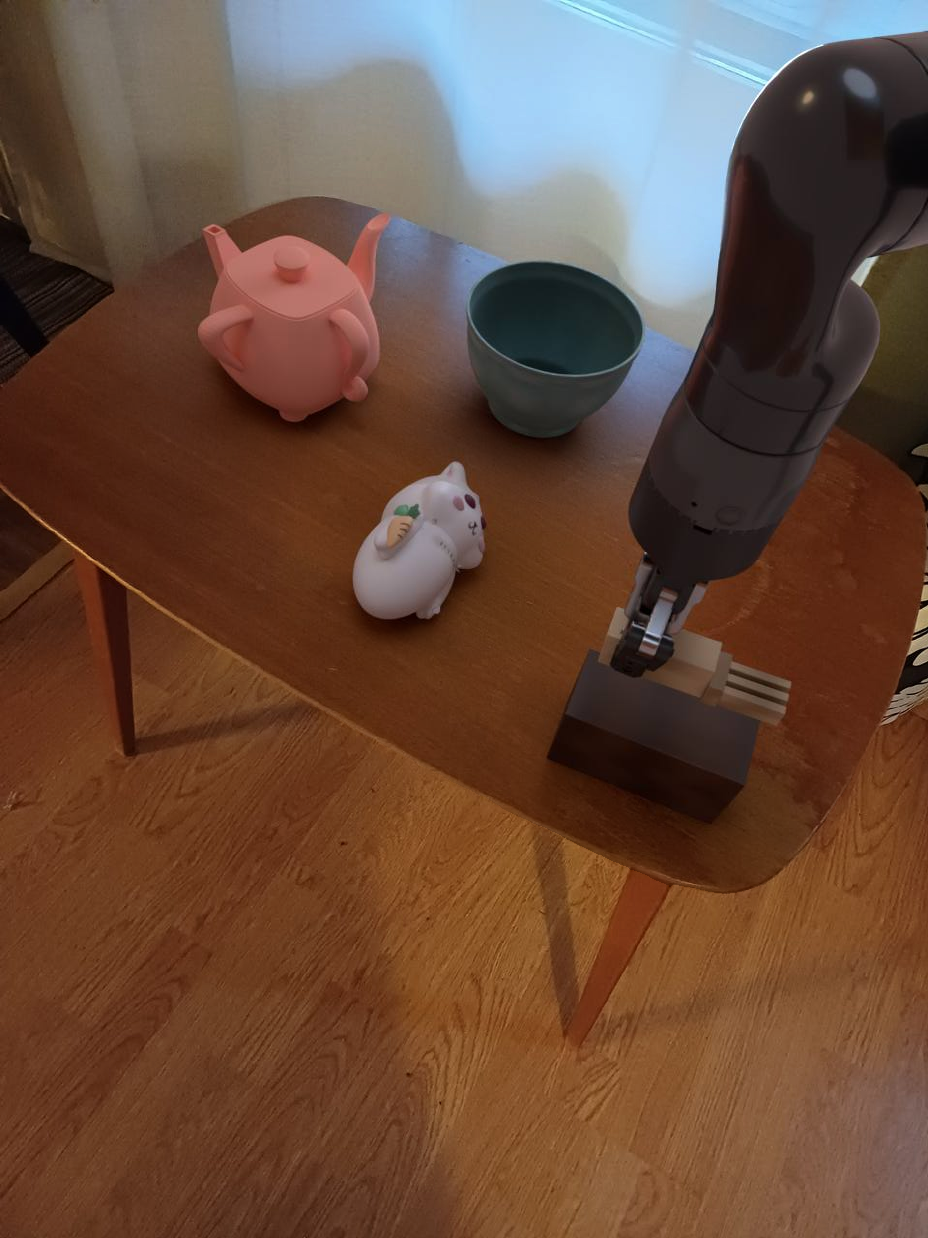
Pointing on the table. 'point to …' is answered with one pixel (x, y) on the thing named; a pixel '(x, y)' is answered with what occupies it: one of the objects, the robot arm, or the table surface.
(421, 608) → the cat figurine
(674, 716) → the stand
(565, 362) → the flower pot
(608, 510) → the table surface
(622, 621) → the fork
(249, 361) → the teapot
